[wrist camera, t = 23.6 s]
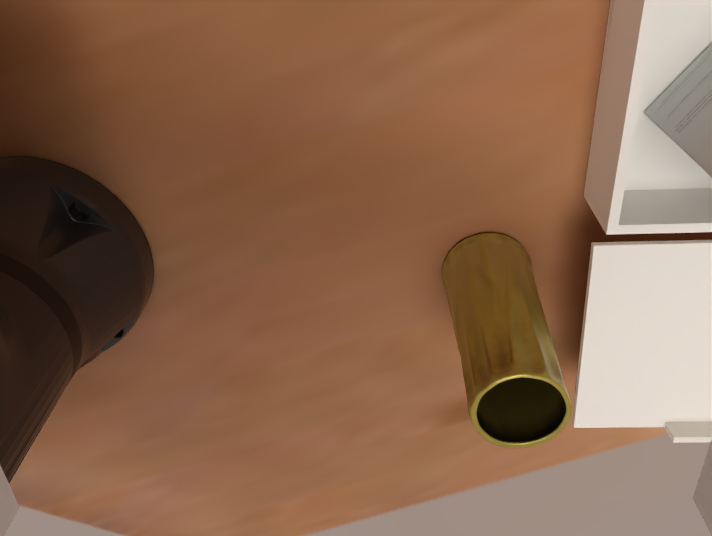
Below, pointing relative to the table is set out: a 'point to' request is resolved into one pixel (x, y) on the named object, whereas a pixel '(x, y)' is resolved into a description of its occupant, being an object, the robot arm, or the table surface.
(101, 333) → the robot arm
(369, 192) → the table surface
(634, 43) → the box
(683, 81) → the supplement box
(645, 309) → the lid
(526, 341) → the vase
